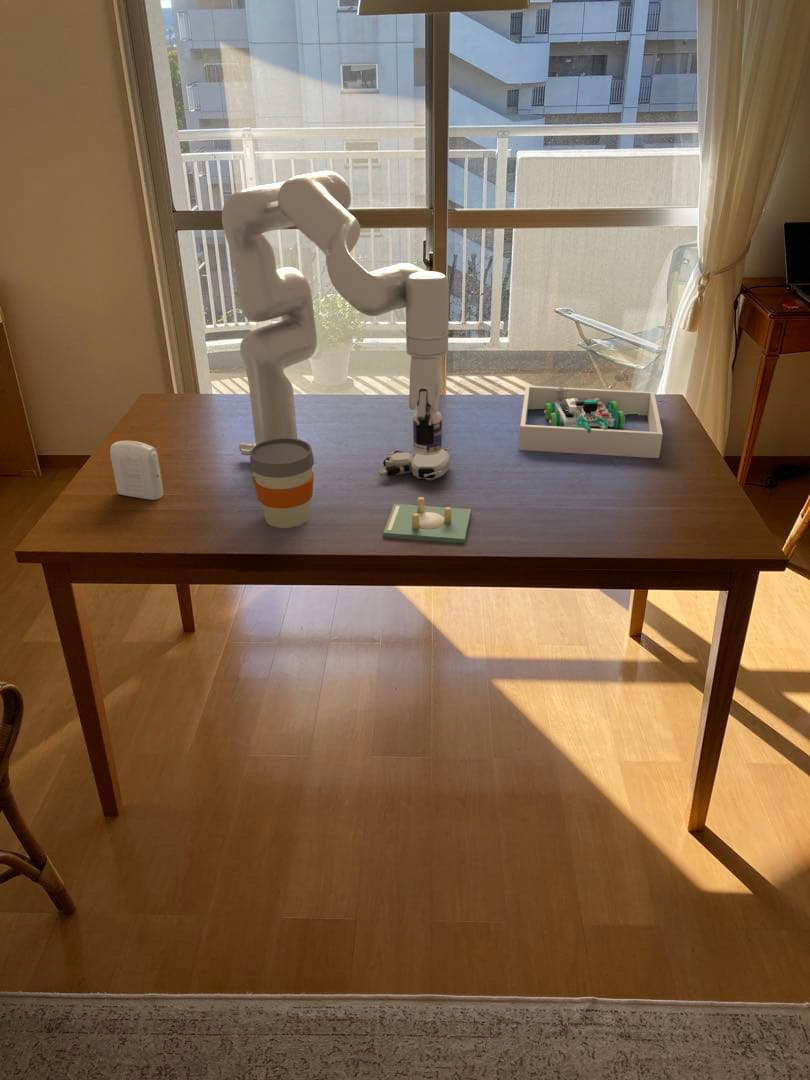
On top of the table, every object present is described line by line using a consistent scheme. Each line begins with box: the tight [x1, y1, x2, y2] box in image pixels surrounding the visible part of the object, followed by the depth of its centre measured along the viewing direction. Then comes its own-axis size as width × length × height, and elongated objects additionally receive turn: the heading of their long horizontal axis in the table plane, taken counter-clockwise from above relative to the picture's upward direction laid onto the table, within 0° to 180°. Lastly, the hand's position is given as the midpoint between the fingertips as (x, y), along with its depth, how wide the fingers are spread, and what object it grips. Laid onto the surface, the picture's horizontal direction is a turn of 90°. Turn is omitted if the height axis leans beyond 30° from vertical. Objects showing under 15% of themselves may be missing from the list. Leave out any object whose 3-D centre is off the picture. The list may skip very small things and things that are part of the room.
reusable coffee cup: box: [249, 438, 315, 529], centre depth 175 cm, size 13×13×15 cm
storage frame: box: [518, 385, 664, 459], centre depth 212 cm, size 32×26×6 cm
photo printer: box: [109, 440, 164, 501], centre depth 185 cm, size 10×4×12 cm, turn 72°
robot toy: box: [379, 447, 452, 481], centre depth 195 cm, size 12×4×15 cm
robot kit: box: [543, 386, 626, 433], centre depth 211 cm, size 19×25×9 cm
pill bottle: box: [412, 402, 443, 455], centre depth 164 cm, size 5×5×10 cm
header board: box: [382, 496, 472, 544], centre depth 174 cm, size 16×12×4 cm
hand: (427, 436), depth 165 cm, fingers closed on pill bottle, 5 cm apart
